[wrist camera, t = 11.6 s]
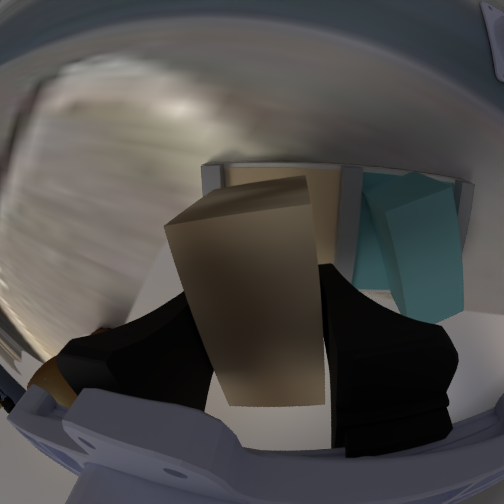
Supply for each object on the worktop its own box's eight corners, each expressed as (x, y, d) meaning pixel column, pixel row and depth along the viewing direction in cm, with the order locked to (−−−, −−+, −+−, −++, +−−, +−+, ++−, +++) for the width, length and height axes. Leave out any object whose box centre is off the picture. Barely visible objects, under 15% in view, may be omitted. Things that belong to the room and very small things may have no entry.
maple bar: (305, 174, 11) (311, 203, 7) (321, 328, 14) (325, 404, 10) (213, 189, 12) (163, 226, 7) (248, 333, 15) (229, 405, 10)
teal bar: (414, 171, 15) (451, 186, 10) (435, 273, 17) (463, 310, 13) (361, 190, 16) (384, 212, 12) (389, 291, 19) (409, 334, 14)
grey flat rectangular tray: (463, 179, 15) (477, 185, 13) (441, 286, 19) (451, 299, 17) (206, 162, 18) (196, 166, 16) (215, 278, 22) (208, 292, 20)
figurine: (118, 377, 31) (45, 439, 17) (90, 329, 30) (5, 380, 16) (168, 369, 28) (85, 455, 14) (135, 311, 27) (29, 378, 13)
